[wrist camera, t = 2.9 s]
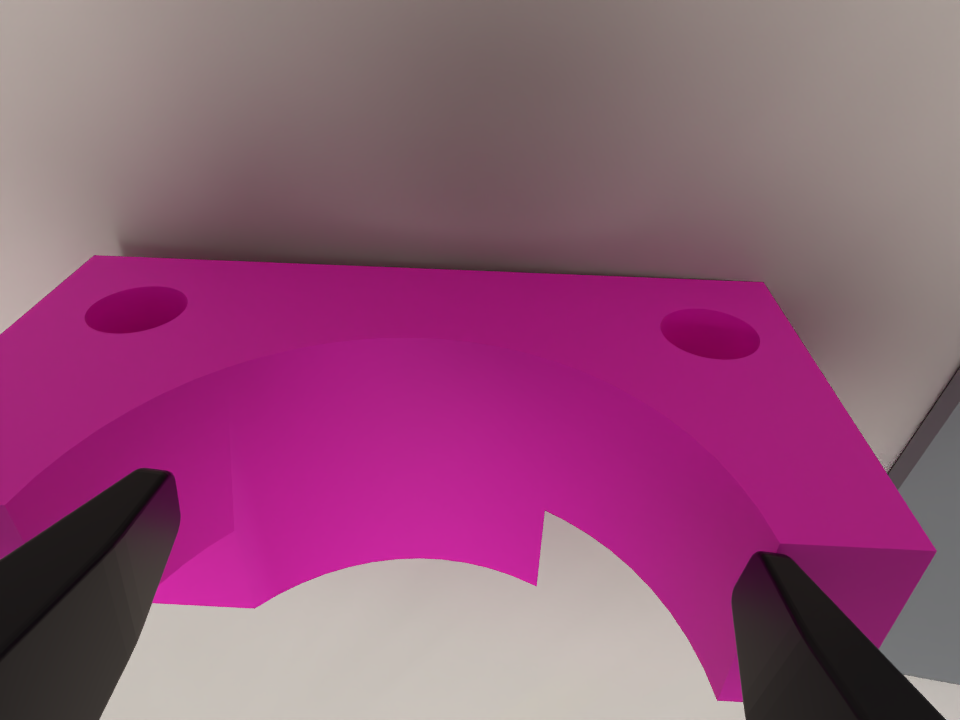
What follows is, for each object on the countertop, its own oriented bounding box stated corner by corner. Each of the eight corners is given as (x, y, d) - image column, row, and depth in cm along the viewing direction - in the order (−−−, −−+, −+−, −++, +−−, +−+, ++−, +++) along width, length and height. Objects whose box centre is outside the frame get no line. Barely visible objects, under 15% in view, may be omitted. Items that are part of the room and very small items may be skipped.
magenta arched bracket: (160, 460, 19) (-13, 735, 13) (94, 255, 15) (-191, 495, 9) (704, 486, 19) (799, 781, 12) (763, 282, 15) (937, 551, 9)
